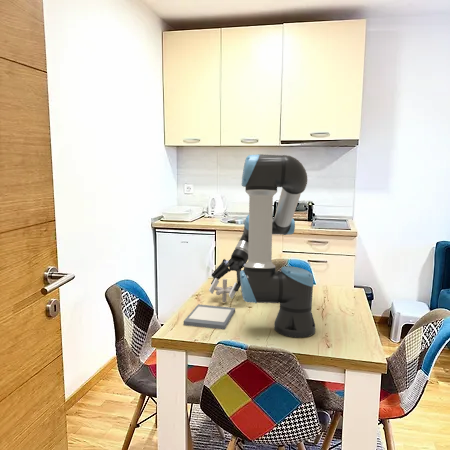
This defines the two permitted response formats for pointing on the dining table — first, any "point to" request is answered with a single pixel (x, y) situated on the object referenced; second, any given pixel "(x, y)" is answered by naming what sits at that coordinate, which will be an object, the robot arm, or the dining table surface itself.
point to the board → (210, 316)
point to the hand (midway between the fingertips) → (220, 294)
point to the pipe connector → (223, 290)
